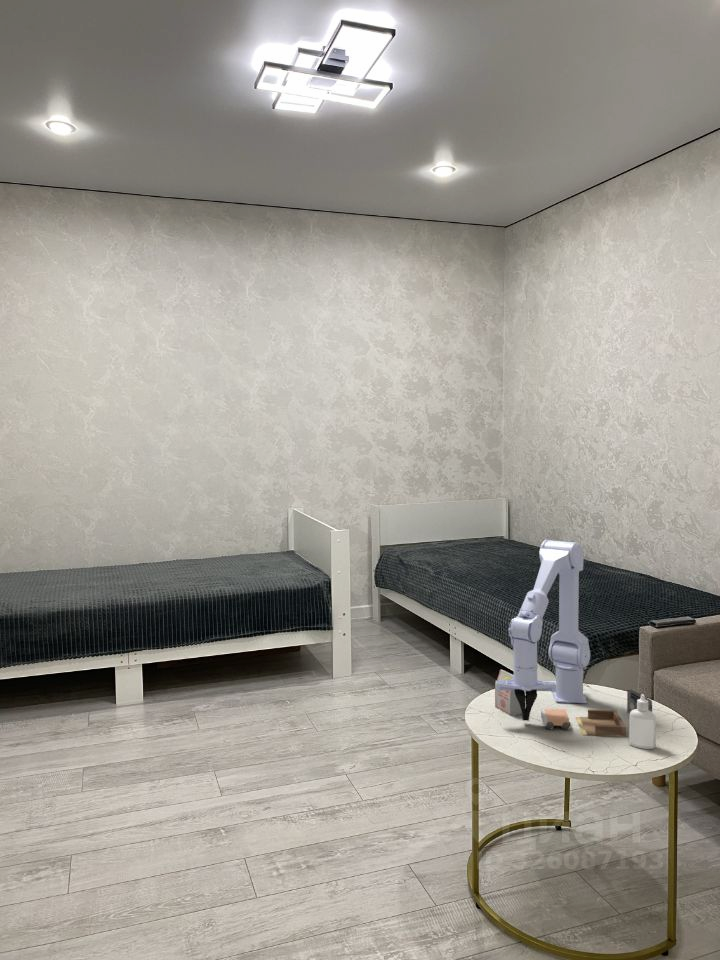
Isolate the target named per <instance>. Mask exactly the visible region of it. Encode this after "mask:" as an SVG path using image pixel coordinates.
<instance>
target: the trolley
mask: <svg viewBox="0 0 720 960" xmlns="http://www.w3.org/2000/svg"><path fill="white" fill-rule="evenodd" d="M540 718H541V721H542V726H544V727H545V728H546V729H548V730H552V729H554V727H555V726H557V727H559V726H560V728H562V729H563V730H569V729H571V725H572V724H571V722H570V717H569V716H568V712H567V710H566V709H563V708H562V709H559V708H554V709H553V708H540Z"/></svg>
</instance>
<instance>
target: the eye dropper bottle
mask: <svg viewBox="0 0 720 960" xmlns="http://www.w3.org/2000/svg"><path fill="white" fill-rule="evenodd" d="M640 694H641V693H640ZM645 697H646V695H645V694H643V693H642V694H641V698H640V699H638V700H637V709H634V710H632V711H631V712H630V714H629V719H628V720H629V722H628V723H629V724H628V725H629V727H628V729H629V730H628V731H629V733H628V734H629V736H628V739H629V740H628V742H629V745H630V746H632V747H635V748H639V749H643V750H654V749H656V746H657V745H656V744H657V743H656V741H657V737H656V736H657V717H656V714H655V713H654V712H653V711H652V712H651V711H649V710H648V701H647V700H646V699H645Z"/></svg>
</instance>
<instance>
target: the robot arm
mask: <svg viewBox="0 0 720 960" xmlns="http://www.w3.org/2000/svg"><path fill="white" fill-rule="evenodd" d="M538 554H539V561H540V567H539V570H538V574H537V577H536V580H535V584H534V586H533V589H531V590H529V591H528V592H526V594H525V597H524V600H523V602H522V604H521V607H520V609H519V611H518V612H519V613H518V615H517V616H515V617H513V618H511V620H510V623H509V627H508V635H509V638H510V644H511V646H512V648H513V649H512V650H513V675H514V680H504V681H497V680H495V684H496V691H500V690H514V692H515V696H516V698H517V700H518V702H519V705H520V707H521V711H522V713H521V715H522V717H521V718H522V721H530V715H531V711H532V708H533V705H534V704H535V701H536V700H537V699H538V698H537V697H538V692H551V693H552V694H553V697H554V699H555V702H556V703H561V704H562V703H570V704H587V703H588V701H587V698H586V697H585V694H584V669H585V668H586V667H587V666H588V664H589V662H590V659H591V650H590V644H589V638H588V637H587V636H586V635H584V634H583V633H582V632H581V631H580V630H579V606H580V605H579V596H580V593H579V592H580V591H579V590H580V589H579V587H580V585H579V584H580V582H579V581H580V579H579V576H580V572H581V571H583V570H584V548H583V547H582V545H581V544H580V543H579V542H577V541H574V542H571V541H562V540H561V541H560V540H553V539H552V540H550V539H544V540H543V541H542V543H541V544H540V548H539V551H538ZM557 575H559V587H558V589H559V590H558V592H559V593H558V595H559V600H558V601H559V602H558V604H559V605H558V606H559V607H558V616H559V617H558V630H557V631H556V632H554V633H553V634H552V635H550V642H549V647H548V657H549V659H550V661H551V662H552V665H553V666H554V667H555V681H545V680H544V681H543V680H539V679H538V641H540V638H541V636H542V633H543V632H542V631H543V625H544V621H543V617H544V615H545V613H546V610H547V609H548V605H549V603H550V601H549V598H548V593H549V592H550V590H551V588H552V585H554V582H555V580H556V577H557Z"/></svg>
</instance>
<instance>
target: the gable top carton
mask: <svg viewBox="0 0 720 960" xmlns="http://www.w3.org/2000/svg"><path fill="white" fill-rule="evenodd" d="M504 680H514V674H512V673H510V672H508V671H506V670H503V669H499V673H498V676H497V679H496V681H504ZM494 708H496V709H498V710H499V709H500V710H499V711H501V712H503V713H505V714H506V715H508V716H516V715H522V711H521V707H520V705H519V702H518V700H517V698H516V696H515V692H514V690H500V691H496V683H495V684H494Z"/></svg>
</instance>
